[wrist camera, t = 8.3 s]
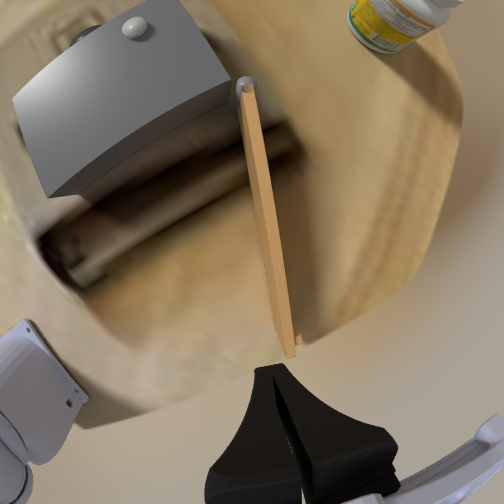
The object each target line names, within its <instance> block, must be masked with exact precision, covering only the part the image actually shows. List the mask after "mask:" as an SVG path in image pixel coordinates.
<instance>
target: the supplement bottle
mask: <svg viewBox="0 0 504 504" xmlns="http://www.w3.org/2000/svg"><path fill="white" fill-rule="evenodd" d="M464 1H465V0H355V2H354V3H353V4H352V5H351V6H350V8H349V10H348V12H347V23H348V26H349V28H350V30H351V31H352V33H353V34H354V35H355V36H356V38H357V39H358V40H359V41H360V42H362V43H363V44H364V45H366V46H367V47H369V48H370V49H372V50H374V51H377V52H380V53H386V54H390V53H395V52H397V51H399V50H400V49H402V48H404V47H405V46H407V45H408V44H410V43H412V42H414V41H415V40H417V39H419V38H420V37H422V36H424V35H425V34H427V33H429V32H431V31H433V30H435V29H436V28H438V27H440V26H442V25H444V24H445V23H446V22H447V21H448V20H449V18H450V8H454V7H456V6H457V5H459V4H461V3H462V2H464Z"/></svg>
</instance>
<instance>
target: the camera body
mask: <svg viewBox="0 0 504 504" xmlns="http://www.w3.org/2000/svg"><path fill="white" fill-rule="evenodd" d="M230 86H231V78H230V76H229V75H228V73H227V71H226V70H225V68H224V67H223V65H222V63H221V62H220V60H219V59H218V57H217V55H216V54H215V52H214V51H213V49H212V48H211V46H210V45H209V43H208V42H207V40H206V38H205V37H204V35H203V34H202V32H201V31H200V29H199V28H198V27H197V25H196V24H195V22H194V21H193V19H192V18H191V16H190V15H189V13H188V12H187V11H186V9H185V8H184V6H183V5H182V4H181V2H180V1H179V0H147V1H145V2H143V3H141V4H139V5H137V6H135V7H133V8H131V9H129V10H127V11H126V12H124V13H122V14H120V15H119V16H117V17H115V18H113V19H112V20H110V21H108V22H107V23H105V24H103V25H96V26H93V27H90V28H88V29H86V30H84V31H82V32H81V33H79V34H78V35H77V36H76V37H75V38H74V39H73V41H72V42H71V44H70V46H69V49H67V50H66V51H65V52H63V53H62V54H61V55H60V56H58V57H57V58H56V59H55V60H53V61H52V62H51V63H50V64H49V65H47V66H46V67H45V68H44V69H43V70H42V71H41V72H39V73H38V74H37V75H36V76H35V77H34V78H33V79H32V80H31V81H30V82H29V83H28V84H27V85H25V86H24V87H23V88H22V89H21V90H20V91H19V92H18V93H17V94H16V96H15V97H14V98H13V103H14V107H15V110H16V114H17V118H18V121H19V125H20V128H21V131H22V134H23V137H24V140H25V143H26V146H27V149H28V152H29V155H30V158H31V160H32V163H33V166H34V168H35V171H36V173H37V176H38V178H39V181H40V183H41V185H42V188H43V190H44V192H45V195H46V197H47V198H54V197H61V196H69V195H77V194H79V193H80V192H81V191H83V190H84V189H85V188H87V187H88V186H89V185H90V184H92V183H93V182H94V181H96V180H97V179H98V178H100V177H101V176H102V175H104V174H105V173H107V172H108V171H109V170H111V169H112V168H114V167H115V166H116V165H118V164H119V163H121V162H122V161H124V160H125V159H127V158H128V157H130V156H131V155H133V154H134V153H136V152H137V151H139V150H140V149H142V148H144V147H145V146H147V145H148V144H150V143H152V142H153V141H155V140H156V139H158V138H160V137H161V136H163V135H165V134H166V133H168V132H170V131H172V130H173V129H175V128H177V127H179V126H180V125H182V124H184V123H186V122H188V121H189V120H191V119H193V118H195V117H197V116H199V115H201V114H203V113H205V112H207V111H209V110H211V109H213V108H215V107H217V106H219V105H221V104H223V103H225V102H227V101H229V95H230Z"/></svg>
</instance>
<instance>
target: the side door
mask: <svg viewBox="0 0 504 504" xmlns="http://www.w3.org/2000/svg"><path fill="white" fill-rule="evenodd" d="M256 86H257V84H256V81H255V80H254V79H253V78H252V77H249V76H243V77H241V78H240V79H239V80H238V81H237V85H236V91H235V97H234V103H233V107H234V109H235V110H236V111H237V112H238V117H239V123H240V128H241V134H242V139H243V145H244V150H245V156H246V161H247V167H248V173H249V178H250V184H251V189H252V195H253V201H254V207H255V212H256V218H257V224H258V230H259V235H260V241H261V247H262V253H263V259H264V265H265V271H266V277H267V283H268V289H269V295H270V301H271V307H272V313H273V319H274V325H275V330H276V332H277V335H278V338H279V340H280V343H281V345H282V348H283V351H284V353H285V356H286V359H289V358H293V357H296V351H295V346H296V345H300V344H302V336H301V334H300V332H299V330H298V328H297V327H296V325H295V323H294V321H293V319H292V317H291V311H290V304H289V297H288V289H287V282H286V275H285V268H284V262H283V255H282V248H281V242H280V235H279V229H278V222H277V216H276V210H275V204H274V198H273V192H272V186H271V180H270V174H269V168H268V163H267V157H266V152H265V146H264V141H263V135H262V130H261V124H260V119H259V114H258V109H257V104H256V99H255V93H254V92H255V89H256Z"/></svg>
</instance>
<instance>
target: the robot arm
mask: <svg viewBox="0 0 504 504" xmlns="http://www.w3.org/2000/svg"><path fill="white" fill-rule="evenodd" d="M254 373H255V377H254V385H253V390H252V395H251V399H250V402H249V405H248V408H247V411H246V414H245V416H244V419H243V421H242V423H241V425H240V427H239V429H238V431H237V433H236V435H235V436H234V438H233V440H232V441H231V443H230V444H229V446H228V447H227V449H226V450H225V451H224V453H223V454H222V455H221V457H220V458H219V459H218V460H217V461H216V462H215V463H214V464H213V466H212V467H211V468H210V469H209V472H208V475H207V479H206V483H205V491H204V493H205V494H204V496H205V503H206V504H302V490H303V494H304V498H305V502H306V504H459V503H460V502H462V501H463V500H464V499H466V498H467V497H468V496H470V495H471V494H472V493H473V492H475V491H476V490H477V489H478V488H480V487H481V486H482V485H483V484H484V483H486V482H487V481H488V480H489V479H490V478H491V477H493V476H494V475H495V474H496V473H497V472H498V471H499V470H500V469H501V468H502V467H503V466H504V419H503V418H502V417H501V416H500V415H499V414H498V413H496V414H495V415H493V416H492V417H491V418H490V419H488V420H487V421H486V422H485V423H483V424H482V425H481V426H480V428H479V429H478V430H477V432H476V434H475V436H474V437H473V438H472V439H471V440H469V441H468V442H466V443H465V444H463V445H462V446H460V447H459V448H458V449H456V450H454V451H453V452H451V453H450V454H448V455H447V456H445V457H444V458H442V459H440V460H439V461H437V462H435V463H434V464H432V465H430V466H428V467H426V468H425V469H423V470H421V471H419V472H417V473H415V474H413V475H412V476H410V477H408V478H406V479H404V480H401V481H399V480H398V479H397V477H396V475H395V473H394V472H395V471H396V470H395V468H394V466H393V464H392V462H393V460H394V458H395V456H396V453H397V451H398V445H397V443H396V442H395V440H394V439H393V437H392V436H391V435H390V434H389V433H388V432H387V431H386V430H385V429H384V428H382V427H378V426H374V425H370V424H366V423H363V422H361V421H358V420H355V419H353V418H351V417H349V416H346V415H344V414H342V413H340V412H338V411H337V410H335V409H333V408H331V407H330V406H328V405H327V404H325V403H324V402H322V401H321V400H319V399H318V398H317V397H316V396H314V395H313V394H312V393H311V392H309V391H308V390H307V389H306V388H305V387H304V386H303V385H302V384H301V383H300V382H299V381H298V380H297V379H296V378H295V377H294V376H293V375H292V374H291V373H290V371H289V370H288V369H287V367H286V366H285V365H284V364H283V363H279V364H274V365H269V366H264V367H258V368H256V369H255V370H254ZM76 389H77V390H76ZM88 400H89V397H88V395H87V394H86V393H85V392H84V391H83V390H82V389H81V388H80V387H79V385H78V384H77V383H76V382H75V381H74V380H73V379H72V377H71V376H70V375H69V374H68V373H67V371H66V370H65V369H64V368H63V367H62V365H61V364H60V363H59V362H58V360H57V359H56V358H55V356H54V355H53V354H52V352H51V351H50V350H49V348H48V347H47V346H46V344H45V343H44V342H43V340H42V339H41V337H40V336H39V335H38V333H37V332H36V330H35V329H34V327H33V326H32V324H31V323H30V321H29V320H28V319H24V320H22V321H21V322H20V323H19V324H17V325H16V326H15V327H14V328H13V329H11V330H10V331H9V332H8V333H7V334H5V335H4V336H3V337H2V338H1V339H0V504H26V503H27V502H28V500H29V498H30V496H31V493H32V489H33V474H32V471H31V468H30V467H29V465H28V464H27V463H28V461H31V462H32V463H33V464H36V465H42V464H45V463H47V462H48V461H50V460H51V459H52V458H53V457H54V456H55V455H56V454H57V452H58V451H59V450H60V449H61V447H62V445H63V444H64V441H65V440H66V438H67V435H68V433H69V431H70V429H71V427H72V425H73V423H74V421H75V419H76V417H77V415H78V413H79V411H80V409H81V407H82V405H83V403H86V402H88ZM286 436H287V437H286ZM287 439H288V440H287ZM289 444H290V445H289ZM290 447H291V448H290Z"/></svg>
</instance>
